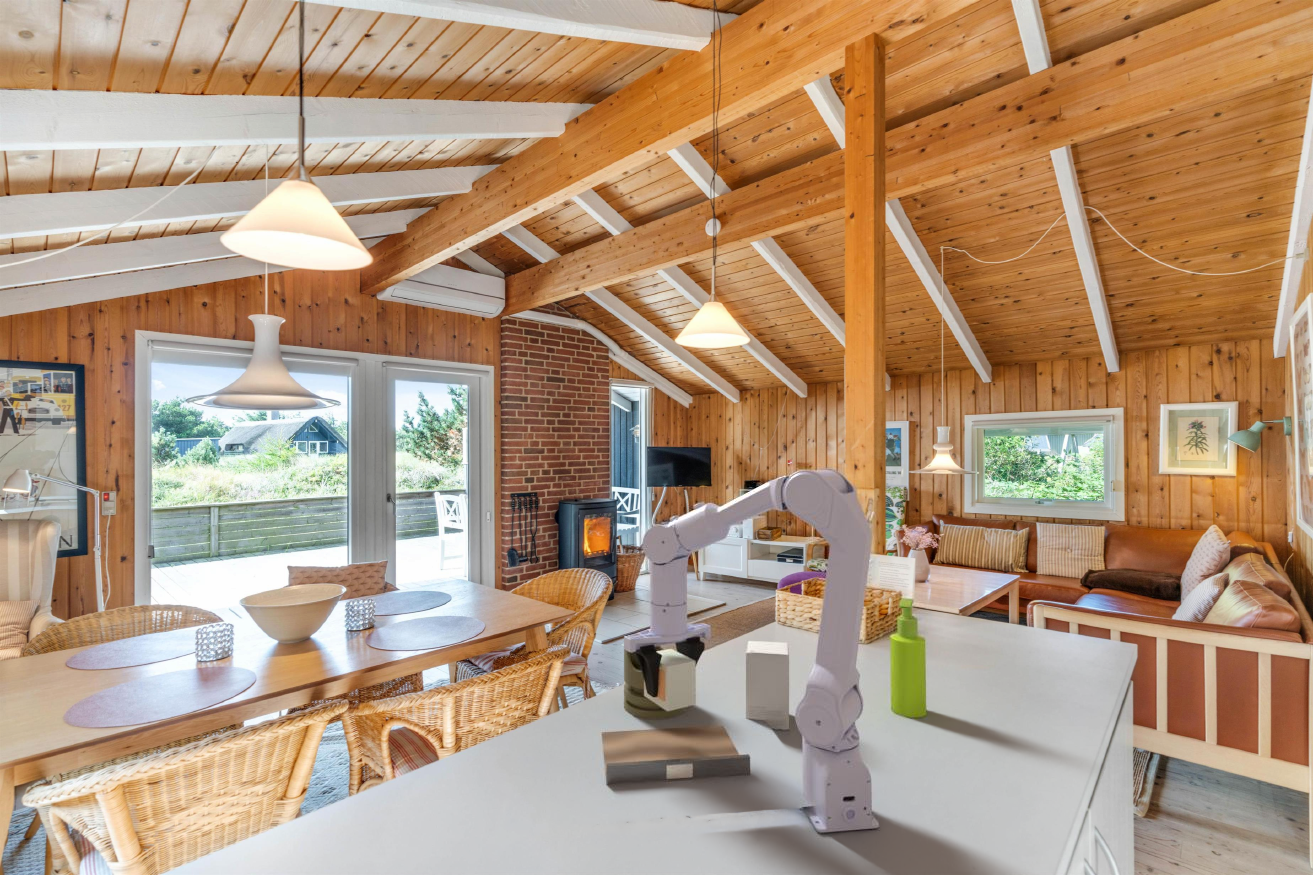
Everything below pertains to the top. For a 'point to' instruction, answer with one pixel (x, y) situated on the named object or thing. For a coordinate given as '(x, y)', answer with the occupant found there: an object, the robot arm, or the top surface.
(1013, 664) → the top surface
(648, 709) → the piston
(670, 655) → the carton
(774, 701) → the supplement box
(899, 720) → the top surface
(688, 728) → the shelf board
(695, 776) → the rail
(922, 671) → the soap dispenser
